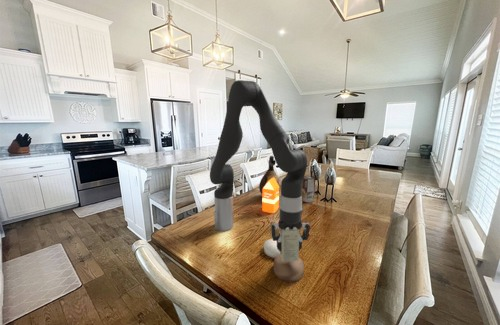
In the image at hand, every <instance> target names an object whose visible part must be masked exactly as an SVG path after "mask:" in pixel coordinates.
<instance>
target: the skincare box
mask: <svg viewBox="0 0 500 325" xmlns="http://www.w3.org/2000/svg"><path fill="white" fill-rule="evenodd" d="M279 231H281V234H282V237H281V251H280V256H281V260H282V261H297V260H299V258H300V257H299V256H300V255H299V254H300V251H299V234H300V229H297V230H293V229H289V230H284V229H280V228H279Z"/></svg>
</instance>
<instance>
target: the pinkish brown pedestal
mask: <svg viewBox="0 0 500 325" xmlns="http://www.w3.org/2000/svg"><path fill="white" fill-rule="evenodd" d="M273 259H274V260H273V273H274V274H275V276H276V277H277V278H278V279H280V280H282V281H284V282H290V283H293V282H299V281H300V280H301V279H302V278H303V277H304V275H305V274H304V273H305V272H304V271H305V264H304V261H303V260H302V258H300V257H299V260H297V261H282V260H281V256H280V255H279V256H277V257H276V258H273Z"/></svg>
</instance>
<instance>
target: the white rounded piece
mask: <svg viewBox="0 0 500 325" xmlns="http://www.w3.org/2000/svg"><path fill="white" fill-rule="evenodd" d="M263 251H264V254H265V255H266V256H268V257H269V258H272V259H275V258H276V257H277V256H279V255H280V251H279V250H278V249H277V241H273V239H272V238H270V239H267V240H266V241H265V242H264V243H263Z"/></svg>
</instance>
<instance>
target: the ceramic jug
mask: <svg viewBox="0 0 500 325" xmlns="http://www.w3.org/2000/svg"><path fill="white" fill-rule="evenodd" d="M276 164H277V163H276V161H275V158H274V155H270V156H269V158H268V169H267V170H266V172H265V173H264V174H263V176H262V177H261V179H260V181H259V184H258V185H259V186H258V187H259V192H260V194H261V195H262V192H263V188H264V186H265V185H266V184H267V182H268V181H269V180H270V179H272V178H273V177H274V178H275V180H276V182H277V183H278V185H279V194H281V180H280V177H279V176H278V174H277V173H276V171H275V169H274V166H275V165H276Z"/></svg>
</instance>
